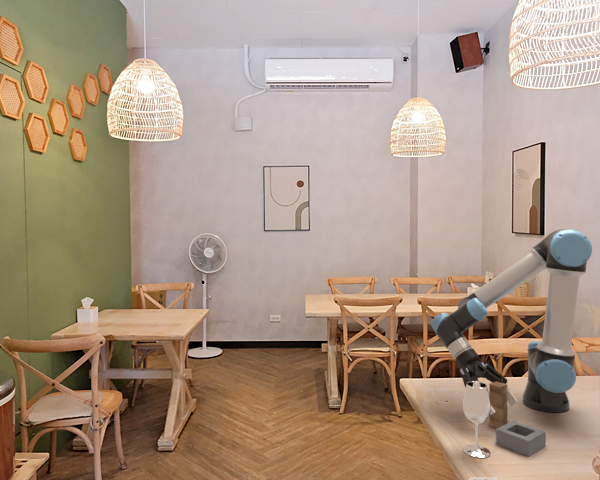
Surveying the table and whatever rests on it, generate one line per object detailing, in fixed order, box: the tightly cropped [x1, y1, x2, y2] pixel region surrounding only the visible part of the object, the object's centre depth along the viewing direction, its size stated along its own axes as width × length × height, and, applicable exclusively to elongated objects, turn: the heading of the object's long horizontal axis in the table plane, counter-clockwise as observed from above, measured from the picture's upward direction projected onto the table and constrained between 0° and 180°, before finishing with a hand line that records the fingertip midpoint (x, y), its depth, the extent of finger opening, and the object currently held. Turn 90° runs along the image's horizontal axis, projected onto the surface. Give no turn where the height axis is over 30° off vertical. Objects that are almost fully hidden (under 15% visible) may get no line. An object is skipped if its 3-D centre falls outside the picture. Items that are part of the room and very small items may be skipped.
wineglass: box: [462, 381, 492, 459], centre depth 136 cm, size 8×8×20 cm
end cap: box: [495, 420, 547, 457], centre depth 140 cm, size 10×10×4 cm
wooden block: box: [488, 381, 508, 429], centre depth 153 cm, size 4×4×14 cm
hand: (503, 408), depth 152 cm, fingers open, 13 cm apart
